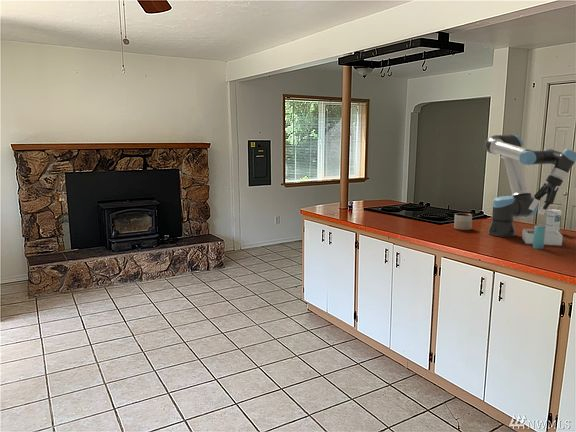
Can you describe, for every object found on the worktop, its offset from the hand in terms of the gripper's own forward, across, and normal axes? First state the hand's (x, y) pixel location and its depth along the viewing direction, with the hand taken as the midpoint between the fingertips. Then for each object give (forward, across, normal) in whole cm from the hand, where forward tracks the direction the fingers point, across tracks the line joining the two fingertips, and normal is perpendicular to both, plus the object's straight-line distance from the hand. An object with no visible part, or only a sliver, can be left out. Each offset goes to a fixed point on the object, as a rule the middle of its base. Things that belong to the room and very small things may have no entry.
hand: (535, 212), depth 239 cm
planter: (+30, +39, +19) cm, 52 cm away
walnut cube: (+15, +6, -9) cm, 18 cm away
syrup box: (+8, +30, -28) cm, 42 cm away
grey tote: (+14, +5, -13) cm, 20 cm away
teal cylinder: (+17, -9, -7) cm, 20 cm away
